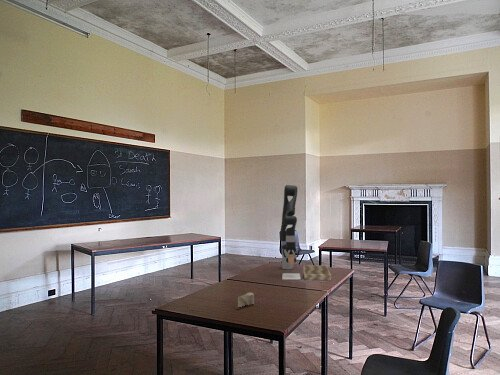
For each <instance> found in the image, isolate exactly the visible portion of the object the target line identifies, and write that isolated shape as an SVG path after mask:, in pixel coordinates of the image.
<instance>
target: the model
mask: <svg viewBox="0 0 500 375" xmlns="http://www.w3.org/2000/svg"><path fill="white" fill-rule="evenodd" d="M252 304H254V305H255V294H254V292H247V293H245V294H243V295H238V297H237V308H238V307H241V308H243V307H246V306H249V305H250V306H251V305H252ZM245 305H246V306H245ZM242 306H243V307H242Z"/></svg>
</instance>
